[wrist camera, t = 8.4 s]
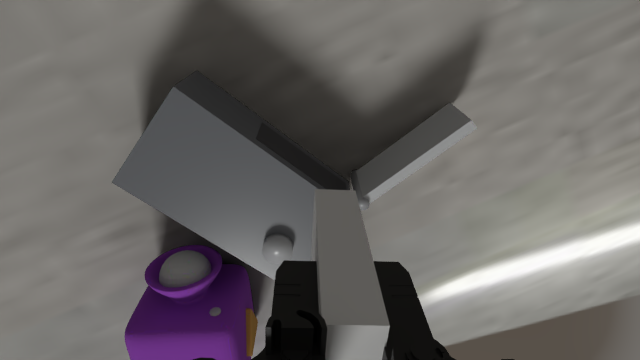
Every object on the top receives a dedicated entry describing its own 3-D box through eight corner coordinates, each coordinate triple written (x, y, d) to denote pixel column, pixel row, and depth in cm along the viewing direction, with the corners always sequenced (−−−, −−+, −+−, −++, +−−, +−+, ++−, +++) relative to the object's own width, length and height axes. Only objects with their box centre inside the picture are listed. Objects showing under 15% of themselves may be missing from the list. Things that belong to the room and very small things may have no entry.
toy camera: (235, 217, 38) (211, 287, 29) (274, 322, 44) (264, 408, 35) (129, 239, 39) (73, 315, 30) (181, 339, 44) (147, 428, 35)
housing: (142, 152, 35) (106, 187, 29) (197, 70, 32) (169, 88, 26) (302, 254, 40) (300, 302, 34) (361, 191, 37) (372, 230, 31)
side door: (448, 100, 33) (472, 120, 28) (457, 114, 34) (482, 135, 29) (348, 174, 36) (354, 203, 31) (358, 186, 36) (365, 216, 31)
